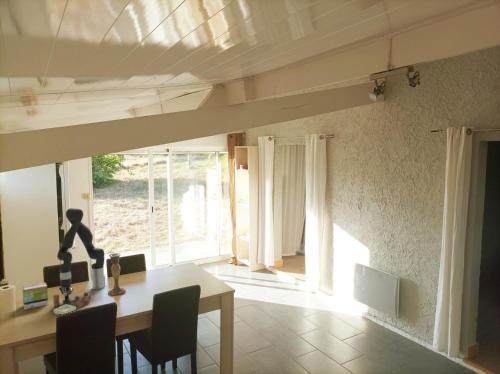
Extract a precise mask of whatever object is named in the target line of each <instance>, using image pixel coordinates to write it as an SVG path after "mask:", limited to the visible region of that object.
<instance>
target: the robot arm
mask: <svg viewBox="0 0 500 374" xmlns="http://www.w3.org/2000/svg"><path fill="white" fill-rule="evenodd" d="M65 216H66V218H67V220H68V222H69V223H70V224H71V226H70V228H69V229H68V230H67V232H66V233H65V235H64V237H63V239H62V244H61V246H60V248H59V249H58V252H57V259H58V260H59V261H63V263H61V264H60V266H59V281H60V285H61V286H59V287H58V289H59V291H60V293H61V294H62V295H63V296H64V300H65V299H67V298H69V297H70V295H71V294H72V293H73V291H74V288H72V285H71V284H72V272H71V265H72V261H73V254H72V253H71V252H70V251H69V249H71V248H73V245H74V241H75V237H76V234H77V236H78V237H79V239H80V241H81V243H82V244H83V246H84V248H85V250H86V252H87V253H86V254H87V255H88V257H89V258H90V259H91V260H95V262H94V263H92V264H91V282H92V283H91V285H92V290H102V289H104V288H105V287H106V275H105V273H104V272H105V271H104V270H105V269H104V265H105V250H104V249H103V248H99V247H98V248H97V247H95V246H94V244H93V240H94V237H93V236H94V235H93V233H92V232H91V229H90V228H89V227H88V226H87V225H85V224H84V223H83V222H82V220H83V217H84V211H83V210H82V209H81V208H80V209H79V208H74V207H72V208H68V209H67V210H66V211H65Z"/></svg>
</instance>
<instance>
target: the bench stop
mask: <svg viewBox="0 0 500 374" xmlns="http://www.w3.org/2000/svg"><path fill="white" fill-rule="evenodd" d="M74 296H75V300H74V305H73V306H76V310H78V309H79V308H82V307H84V306H85V305H88V304H90V303H91V295H90V294H89V292H88V291H86V292H83V295H82V296H81V297H79V296H80V295H74Z"/></svg>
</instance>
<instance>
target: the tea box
mask: <svg viewBox="0 0 500 374" xmlns="http://www.w3.org/2000/svg"><path fill="white" fill-rule="evenodd" d="M48 296H49V295H48V285H47V283H46V282H40V283H35V284H30V285H29V284H28V285H23V286H22V304H23V309H24V310H28V309H33V308H38V307H39V308H40V307H43V306H44V305H45V306H48V305H49V302H48V301H49V300H48V299H49V298H48Z"/></svg>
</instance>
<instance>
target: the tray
mask: <svg viewBox="0 0 500 374" xmlns="http://www.w3.org/2000/svg"><path fill="white" fill-rule="evenodd" d="M71 311H73V312H75V311H77V309H76V306H74V305H73V306H72V305H67V304H65V305H63V304H62V305H60V307H58V308H54V309H53V314H54V313H55V315H59V314H64V313H68V312H71ZM71 313H72V312H71Z"/></svg>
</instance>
